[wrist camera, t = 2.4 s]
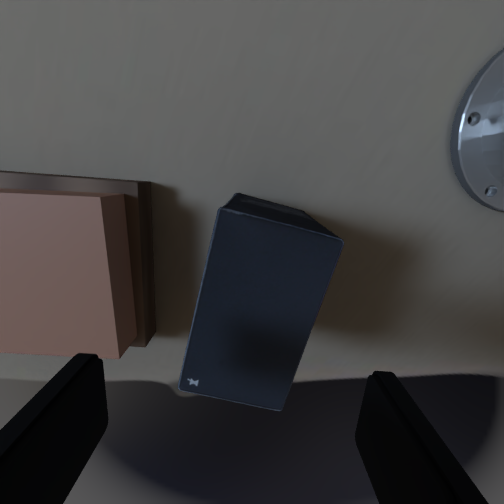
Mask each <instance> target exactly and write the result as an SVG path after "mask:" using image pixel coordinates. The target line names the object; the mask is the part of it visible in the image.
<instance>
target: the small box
mask: <svg viewBox="0 0 504 504" xmlns="http://www.w3.org/2000/svg"><path fill="white" fill-rule="evenodd" d="M343 246H344V241H343V240H342V239H341V238H339V237H338V236H336V235H335V234H333V233H332V232H331V231H329V230H328V229H326V228H325V227H324V226H322V225H321V224H319V223H318V222H317V221H315V220H314V219H313V218H311V217H310V216H309V215H307V214H306V213H305V212H304V211H301V210H298V209H294V208H291V207H288V206H284V205H280V204H277V203H273V202H269V201H266V200H262V199H258V198H255V197H251V196H247V195H244V194H240V193H236V194H234V195H233V197H232V198H231V200H230V201H228V203H226V205H224V206H223V207H220V208H219V209H218V212H217V216H216V220H215V225H214V229H213V233H212V238H211V242H210V246H209V250H208V255H207V260H206V264H205V268H204V273H203V277H202V281H201V286H200V290H199V294H198V298H197V303H196V307H195V312H194V316H193V321H192V325H191V331H190V334H189V338H188V343H187V347H186V351H185V356H184V360H183V365H182V370H181V374H180V379H179V383H178V389H179V390H180V391H184V392H190V393H194V394H200V395H205V396H210V397H214V398H219V399H224V400H229V401H233V402H237V403H243V404H247V405H252V406H257V407H261V408H267V409H272V410H277V411H281V410H282V409H283V406H284V403H285V401H286V398H287V396H288V393H289V390H290V387H291V384H292V382H293V379H294V376H295V374H296V371H297V368H298V365H299V363H300V360H301V357H302V354H303V352H304V349H305V346H306V344H307V341H308V338H309V335H310V333H311V330H312V327H313V325H314V322H315V320H316V317H317V314H318V312H319V309H320V306H321V304H322V301H323V298H324V296H325V293H326V290H327V288H328V285H329V282H330V280H331V277H332V275H333V272H334V269H335V267H336V264H337V261H338V259H339V256H340V254H341V251H342V248H343Z"/></svg>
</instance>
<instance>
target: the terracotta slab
mask: <svg viewBox="0 0 504 504" xmlns="http://www.w3.org/2000/svg"><path fill="white" fill-rule="evenodd" d="M136 337H137V328H136V318H135V307H134V296H133V286H132V275H131V265H130V254H129V243H128V233H127V222H126V211H125V201H124V194H118V193H96V192H74V191H51V190H29V189H7V188H0V353H16V354H34V355H52V356H71V357H74V356H75V355H76V354H78V353H90V354H97V355H98V357H99V358H107V359H120V358H121V356H122V355H123V354H124V353H125V351H126V350H127V349H128V347H129V346H130V345H131V343H132V342H133V341H134V339H135V338H136Z"/></svg>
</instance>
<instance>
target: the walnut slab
mask: <svg viewBox="0 0 504 504" xmlns="http://www.w3.org/2000/svg"><path fill="white" fill-rule="evenodd" d="M0 188H7V189H29V190H51V191H74V192H96V193H118V194H124V201H125V211H126V222H127V233H128V243H129V254H130V265H131V275H132V286H133V296H134V307H135V318H136V328H137V337H136V338H135V339H134V341H133V342H132V343H131V345H130V346H134V347H146V346H147V344H148V343H149V341H150V340H151V338H152V337H153V335H154V334H155V332H156V318H155V291H154V264H153V237H152V210H151V183H150V182H148V181H134V180H121V179H107V178H94V177H80V176H67V175H53V174H40V173H26V172H13V171H0Z"/></svg>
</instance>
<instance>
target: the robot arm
mask: <svg viewBox="0 0 504 504" xmlns="http://www.w3.org/2000/svg"><path fill="white" fill-rule="evenodd" d="M450 146H451V160H452V164H453V167H454V171H455V174H456V176H457V178H458V180H459V182H460V184H461V186H462V187H463V188H464V189H465V191H466V192H467V193H468V194H469V195H470V196H471V197H472V198H473V199H475V200H476V201H477V202H479V203H480V204H482V205H484V206H486V207H489V208H491V209H494V210H497V211H503V212H504V48H503V49H502V50H501V51H500V52H498V53H497V54H496V55H494V56H493V57H492V58H491V59H490V60H489V62H488V63H487V64H486V65H485V66H484V67H483V68H482V69H481V70H480V71H479V72H478V74H477V75H476V77H475V78H474V79H473V81H472V82H471V84H470V85H469V87H468V88H467V90H466V92H465V94H464V96H463V98H462V100H461V102H460V104H459V106H458V109H457V112H456V115H455V119H454V122H453V125H452V133H451V141H450ZM107 425H108V411H107V400H106V390H105V379H104V369H103V361H102V359H99V357H98V355H97V354H90V353H78V354H76V355H75V356H74V357H73V358H72V359H71V360H70V361H69V362H68V363H67V364H66V365H65V366H64V367H63V368H62V369H61V370H60V371H59V372H58V373H57V374H56V375H55V376H54V377H53V378H52V379H51V380H50V381H49V382H48V383H47V384H46V385H45V386H44V387H43V388H42V389H41V390H40V391H39V392H38V393H37V394H36V395H35V396H34V397H33V398H32V399H31V400H30V401H29V402H28V403H27V404H26V405H25V406H24V407H23V408H22V409H21V410H20V411H19V412H18V413H17V414H16V415H15V416H14V417H13V418H12V419H11V420H10V421H9V422H8V423H7V424H6V425H5V426H4V427H3V428H2V429H1V430H0V504H63V503H64V501H65V500H66V497H67V496H68V494H69V493H70V491H71V489H72V487H73V486H74V484H75V482H76V481H77V479H78V477H79V475H80V474H81V472H82V470H83V468H84V467H85V465H86V463H87V462H88V460H89V458H90V457H91V455H92V453H93V451H94V450H95V448H96V446H97V444H98V443H99V441H100V439H101V438H102V436H103V434H104V432H105V430H106V428H107ZM355 440H356V445H357V448H358V450H359V453H360V455H361V458H362V460H363V463H364V465H365V468H366V471H367V473H368V476H369V478H370V481H371V483H372V486H373V489H374V491H375V494H376V496H377V499H378V501H379V504H488V502H487V501H486V499H485V498H484V497H483V495H482V494H481V493H480V491H479V490H478V488H477V487H476V486H475V484H474V483H473V482H472V480H471V479H470V477H469V476H468V475H467V473H466V472H465V471H464V469H463V468H462V466H461V465H460V464H459V462H458V461H457V460H456V458H455V457H454V455H453V454H452V453H451V451H450V450H449V449H448V447H447V446H446V445H445V443H444V442H443V440H442V439H441V438H440V436H439V435H438V433H437V432H436V431H435V429H434V428H433V426H432V425H431V424H430V422H429V421H428V420H427V418H426V417H425V416H424V414H423V413H422V411H421V410H420V409H419V407H418V406H417V404H416V403H415V402H414V400H413V399H412V398H411V396H410V395H409V394H408V392H407V391H406V389H405V388H404V387H403V385H402V384H401V382H400V381H399V380H398V378H397V377H396V376H395V374H394V373H392V372H385V371H374V372H373V374H372V375H369V376H368V379H367V384H366V388H365V393H364V397H363V401H362V406H361V410H360V415H359V419H358V424H357V428H356V433H355Z"/></svg>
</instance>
